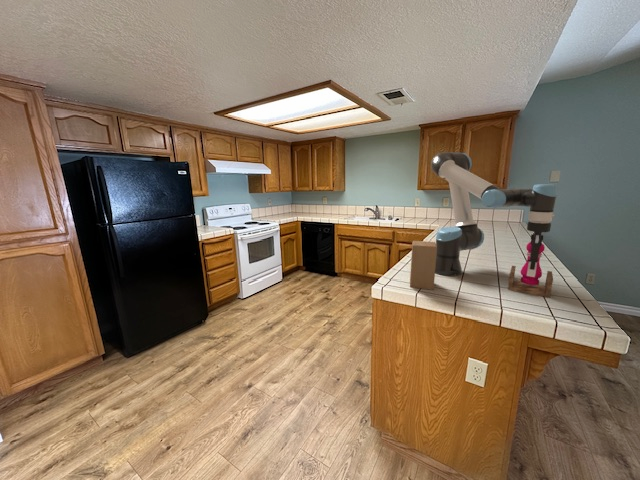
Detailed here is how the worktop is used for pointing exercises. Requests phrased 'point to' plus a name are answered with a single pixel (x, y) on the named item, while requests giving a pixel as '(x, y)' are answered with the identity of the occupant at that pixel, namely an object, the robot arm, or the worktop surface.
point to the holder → (531, 289)
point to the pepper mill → (538, 273)
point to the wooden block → (423, 264)
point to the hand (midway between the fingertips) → (530, 273)
